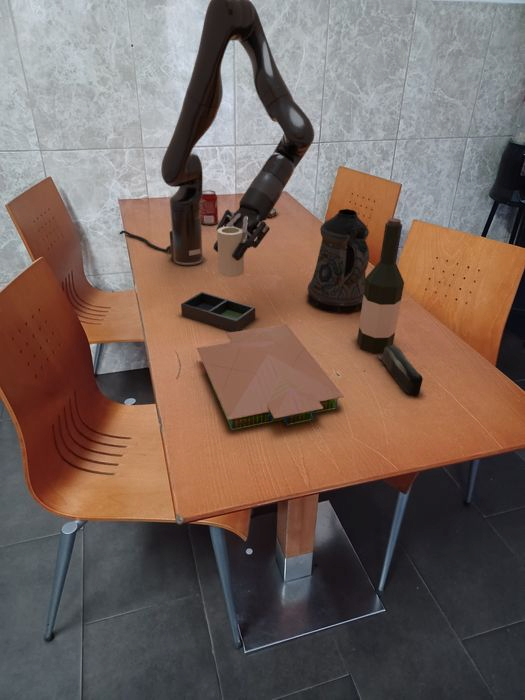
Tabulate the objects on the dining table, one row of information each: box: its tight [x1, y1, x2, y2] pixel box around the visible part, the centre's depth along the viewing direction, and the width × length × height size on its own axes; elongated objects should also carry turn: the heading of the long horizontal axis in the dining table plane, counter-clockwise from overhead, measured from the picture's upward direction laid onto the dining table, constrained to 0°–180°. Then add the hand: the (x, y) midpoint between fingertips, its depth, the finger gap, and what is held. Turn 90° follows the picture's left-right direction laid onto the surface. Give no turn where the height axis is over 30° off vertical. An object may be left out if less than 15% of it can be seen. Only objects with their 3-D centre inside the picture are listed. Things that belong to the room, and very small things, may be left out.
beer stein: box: [307, 208, 370, 314], centre depth 132 cm, size 16×19×25 cm
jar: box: [216, 226, 245, 278], centre depth 119 cm, size 6×6×10 cm
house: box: [196, 323, 345, 431], centre depth 103 cm, size 23×33×8 cm
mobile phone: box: [377, 344, 424, 396], centre depth 106 cm, size 5×3×15 cm
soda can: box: [200, 189, 219, 226], centre depth 193 cm, size 7×7×12 cm
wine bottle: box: [356, 217, 405, 354], centre depth 111 cm, size 8×8×30 cm
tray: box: [180, 291, 256, 332], centre depth 128 cm, size 17×9×3 cm, turn 59°
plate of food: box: [268, 207, 277, 218], centre depth 206 cm, size 12×12×8 cm
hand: (225, 254), depth 119 cm, fingers closed on jar, 6 cm apart
